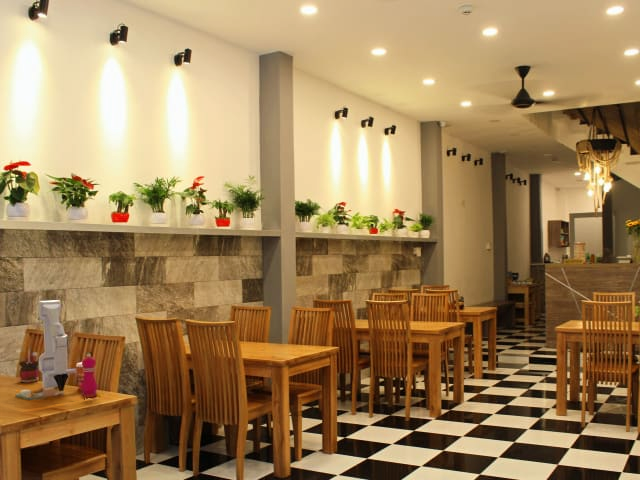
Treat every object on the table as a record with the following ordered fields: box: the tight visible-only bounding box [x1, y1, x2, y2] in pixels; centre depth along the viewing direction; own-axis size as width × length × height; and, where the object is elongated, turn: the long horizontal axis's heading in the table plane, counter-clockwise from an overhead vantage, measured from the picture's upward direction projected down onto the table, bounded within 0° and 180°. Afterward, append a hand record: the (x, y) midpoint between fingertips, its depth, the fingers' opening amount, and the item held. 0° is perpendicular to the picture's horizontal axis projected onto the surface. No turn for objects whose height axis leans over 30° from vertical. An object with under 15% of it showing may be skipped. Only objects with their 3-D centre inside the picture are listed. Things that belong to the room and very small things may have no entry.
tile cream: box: [19, 389, 32, 397], centre depth 317 cm, size 4×4×3 cm
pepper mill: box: [80, 353, 99, 400], centre depth 319 cm, size 7×7×20 cm
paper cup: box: [76, 361, 84, 391], centre depth 334 cm, size 8×8×14 cm
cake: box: [18, 346, 40, 383], centre depth 369 cm, size 11×9×18 cm
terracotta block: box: [42, 388, 56, 397], centre depth 319 cm, size 4×4×3 cm
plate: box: [31, 391, 64, 398], centre depth 322 cm, size 10×14×2 cm
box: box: [15, 393, 46, 401], centre depth 316 cm, size 7×14×2 cm, turn 47°
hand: (61, 390), depth 324 cm, fingers closed
